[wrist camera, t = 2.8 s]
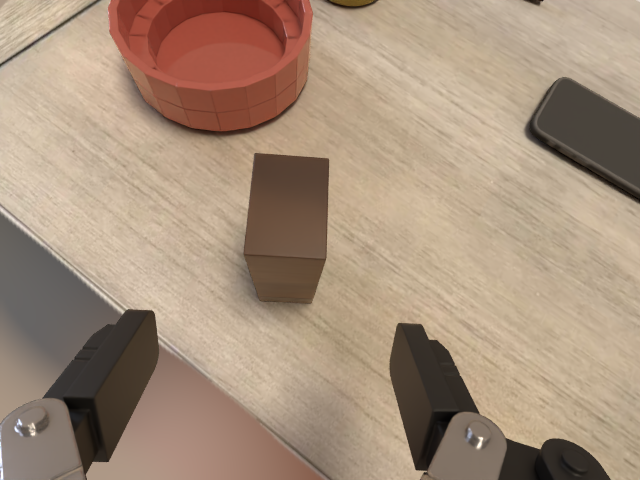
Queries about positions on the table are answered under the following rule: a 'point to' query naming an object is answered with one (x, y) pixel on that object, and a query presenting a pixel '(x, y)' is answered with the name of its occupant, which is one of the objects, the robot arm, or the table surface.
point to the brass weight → (352, 2)
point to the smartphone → (591, 132)
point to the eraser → (287, 226)
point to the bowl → (215, 57)
